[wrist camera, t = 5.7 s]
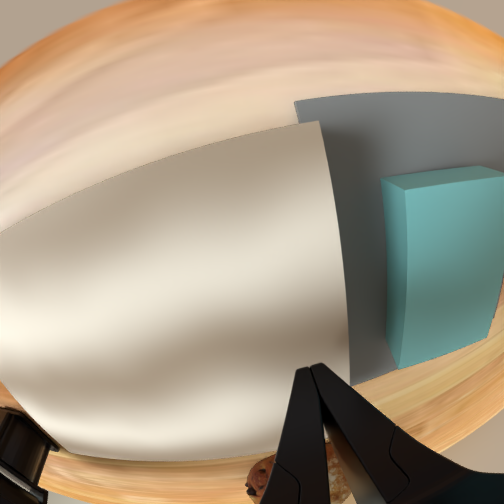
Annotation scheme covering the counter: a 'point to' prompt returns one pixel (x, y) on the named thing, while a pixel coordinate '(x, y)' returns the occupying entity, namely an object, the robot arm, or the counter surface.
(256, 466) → the brown rounded dome
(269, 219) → the board
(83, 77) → the counter surface
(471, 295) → the teal rectangular block
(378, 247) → the mat
